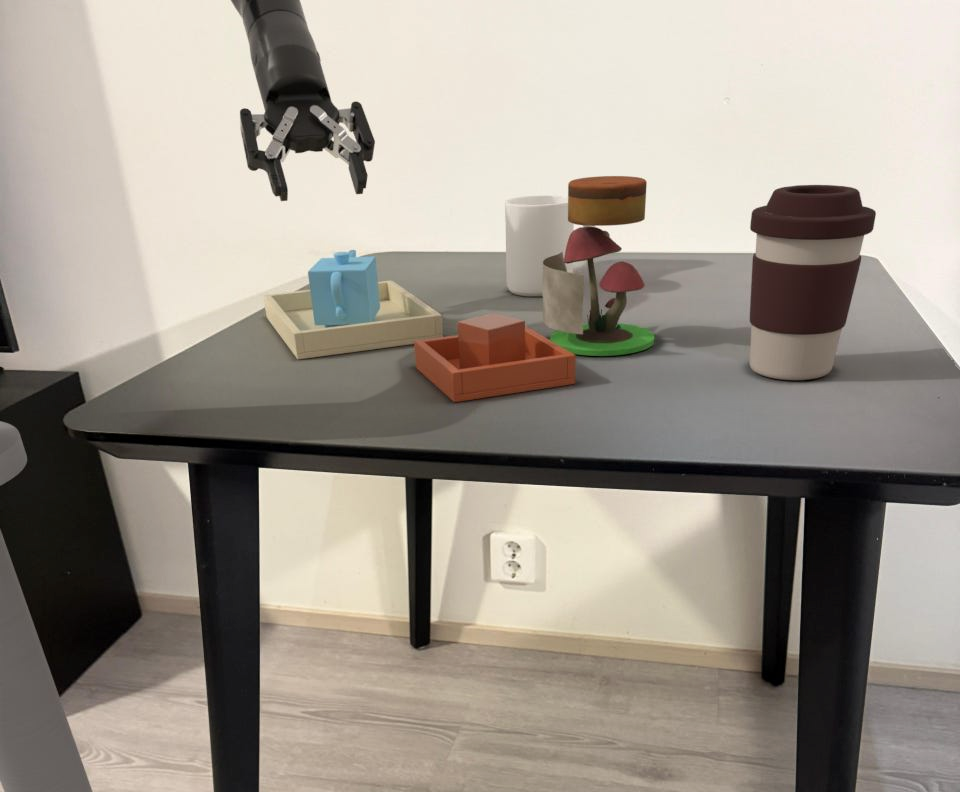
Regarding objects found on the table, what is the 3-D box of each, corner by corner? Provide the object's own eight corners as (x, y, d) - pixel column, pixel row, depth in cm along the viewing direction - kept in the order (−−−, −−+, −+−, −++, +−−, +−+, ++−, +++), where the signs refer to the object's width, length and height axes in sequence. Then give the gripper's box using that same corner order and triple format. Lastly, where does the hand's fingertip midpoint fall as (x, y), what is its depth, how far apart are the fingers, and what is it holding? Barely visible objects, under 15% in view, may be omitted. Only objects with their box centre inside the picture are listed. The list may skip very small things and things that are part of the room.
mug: (581, 277, 122) (583, 191, 116) (610, 289, 115) (614, 198, 109) (496, 287, 118) (494, 199, 113) (522, 300, 112) (521, 207, 106)
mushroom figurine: (627, 321, 101) (634, 169, 93) (678, 350, 91) (691, 182, 83) (525, 332, 99) (523, 177, 91) (565, 364, 89) (567, 192, 81)
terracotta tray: (454, 402, 80) (452, 372, 79) (415, 367, 90) (413, 340, 88) (575, 383, 83) (575, 355, 82) (526, 352, 93) (525, 325, 91)
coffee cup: (838, 355, 88) (868, 180, 80) (855, 387, 80) (891, 196, 71) (731, 354, 89) (750, 182, 81) (737, 385, 81) (759, 198, 73)
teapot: (333, 310, 108) (325, 242, 104) (385, 309, 108) (378, 240, 104) (313, 337, 98) (303, 263, 94) (369, 336, 98) (362, 261, 94)
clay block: (490, 379, 84) (488, 329, 81) (459, 369, 86) (457, 321, 84) (525, 368, 86) (525, 320, 83) (494, 359, 89) (493, 312, 86)
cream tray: (297, 359, 93) (293, 333, 92) (266, 317, 109) (263, 294, 108) (443, 340, 98) (441, 314, 96) (393, 302, 113) (391, 280, 112)
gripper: (346, 93, 110) (381, 210, 107) (226, 100, 106) (258, 221, 103) (352, 39, 103) (389, 162, 100) (223, 44, 99) (257, 173, 96)
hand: (322, 192), depth 102 cm, fingers open, 8 cm apart
